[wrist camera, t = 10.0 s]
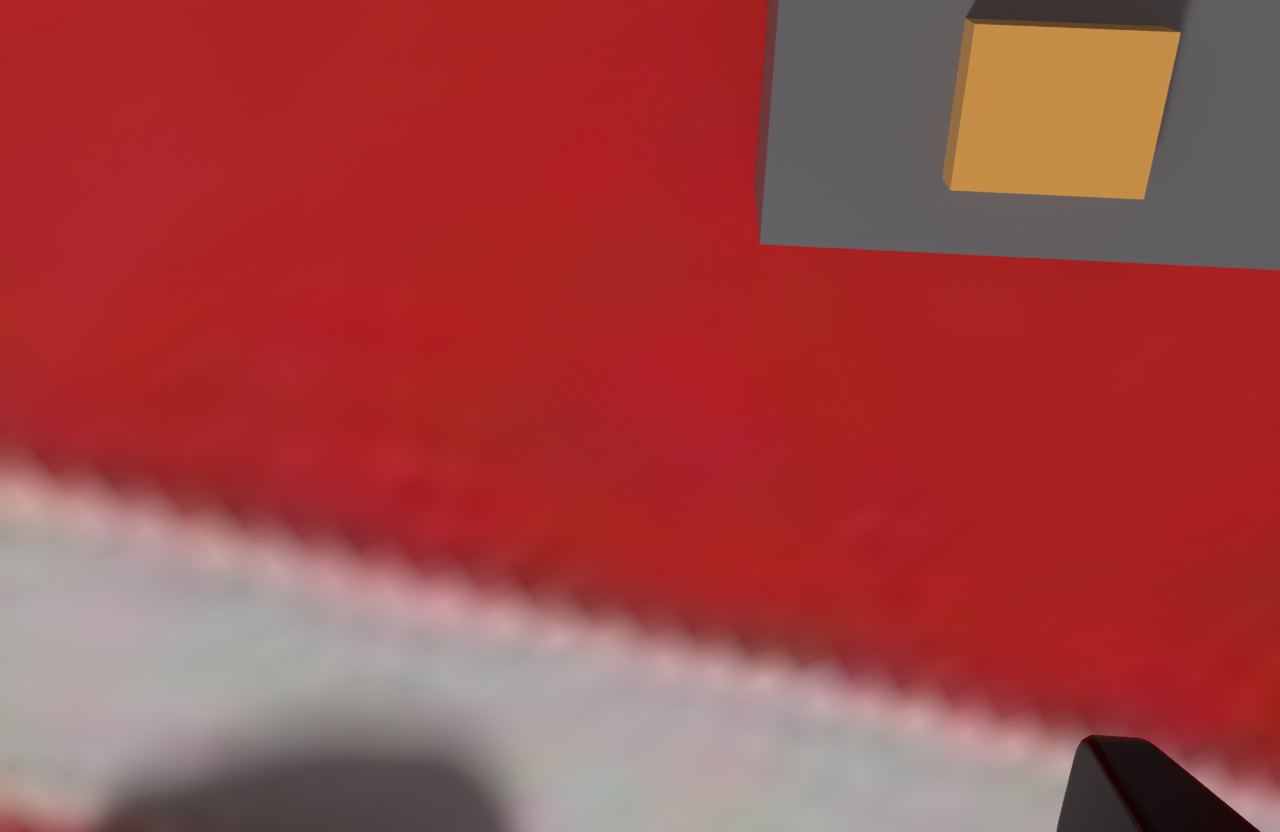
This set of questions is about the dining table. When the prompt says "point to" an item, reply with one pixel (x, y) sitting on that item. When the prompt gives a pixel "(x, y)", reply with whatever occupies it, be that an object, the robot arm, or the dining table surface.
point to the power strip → (889, 130)
